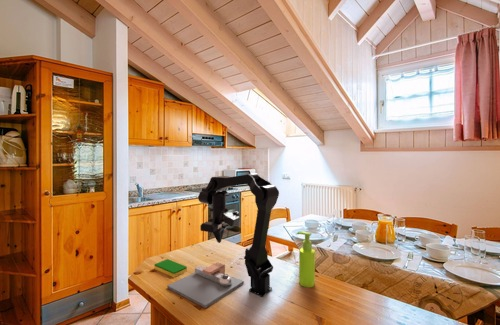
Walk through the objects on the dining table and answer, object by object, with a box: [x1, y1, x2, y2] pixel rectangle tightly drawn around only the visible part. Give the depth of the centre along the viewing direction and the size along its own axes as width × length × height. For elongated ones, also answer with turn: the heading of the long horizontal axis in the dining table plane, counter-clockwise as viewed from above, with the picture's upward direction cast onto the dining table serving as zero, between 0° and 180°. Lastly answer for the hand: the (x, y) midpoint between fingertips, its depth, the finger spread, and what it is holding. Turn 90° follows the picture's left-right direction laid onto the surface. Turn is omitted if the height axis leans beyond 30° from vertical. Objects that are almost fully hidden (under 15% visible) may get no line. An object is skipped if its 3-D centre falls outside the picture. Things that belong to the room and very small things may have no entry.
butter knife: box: [229, 253, 245, 266], centre depth 118 cm, size 1×27×3 cm
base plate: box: [166, 266, 244, 309], centre depth 100 cm, size 21×20×1 cm
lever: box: [194, 265, 233, 287], centre depth 103 cm, size 18×5×3 cm, turn 53°
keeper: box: [203, 261, 226, 275], centre depth 104 cm, size 4×8×4 cm, turn 143°
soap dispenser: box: [296, 230, 316, 288], centre depth 101 cm, size 6×7×20 cm
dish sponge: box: [154, 258, 188, 278], centre depth 113 cm, size 7×14×2 cm, turn 54°
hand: (219, 242), depth 110 cm, fingers closed
